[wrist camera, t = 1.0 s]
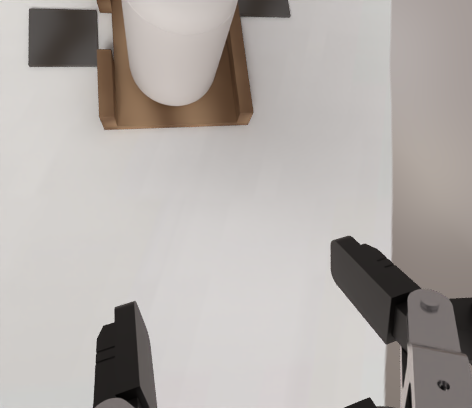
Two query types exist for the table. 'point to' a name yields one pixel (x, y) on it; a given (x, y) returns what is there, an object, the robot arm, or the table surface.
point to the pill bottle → (176, 46)
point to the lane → (119, 75)
